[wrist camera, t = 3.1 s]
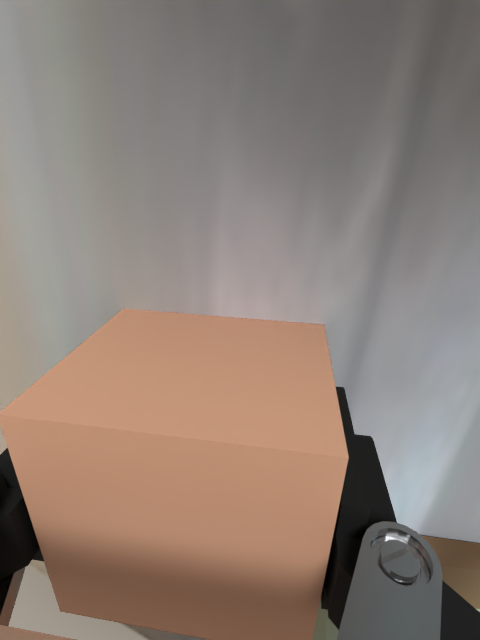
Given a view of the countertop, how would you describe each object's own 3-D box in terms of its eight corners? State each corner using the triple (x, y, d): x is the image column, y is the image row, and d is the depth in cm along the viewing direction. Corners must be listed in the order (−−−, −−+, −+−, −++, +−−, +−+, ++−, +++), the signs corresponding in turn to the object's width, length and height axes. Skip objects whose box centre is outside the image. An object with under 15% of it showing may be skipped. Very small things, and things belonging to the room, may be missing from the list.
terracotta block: (324, 324, 10) (348, 457, 5) (303, 478, 12) (308, 658, 8) (123, 308, 11) (-4, 414, 6) (141, 457, 13) (60, 611, 9)
